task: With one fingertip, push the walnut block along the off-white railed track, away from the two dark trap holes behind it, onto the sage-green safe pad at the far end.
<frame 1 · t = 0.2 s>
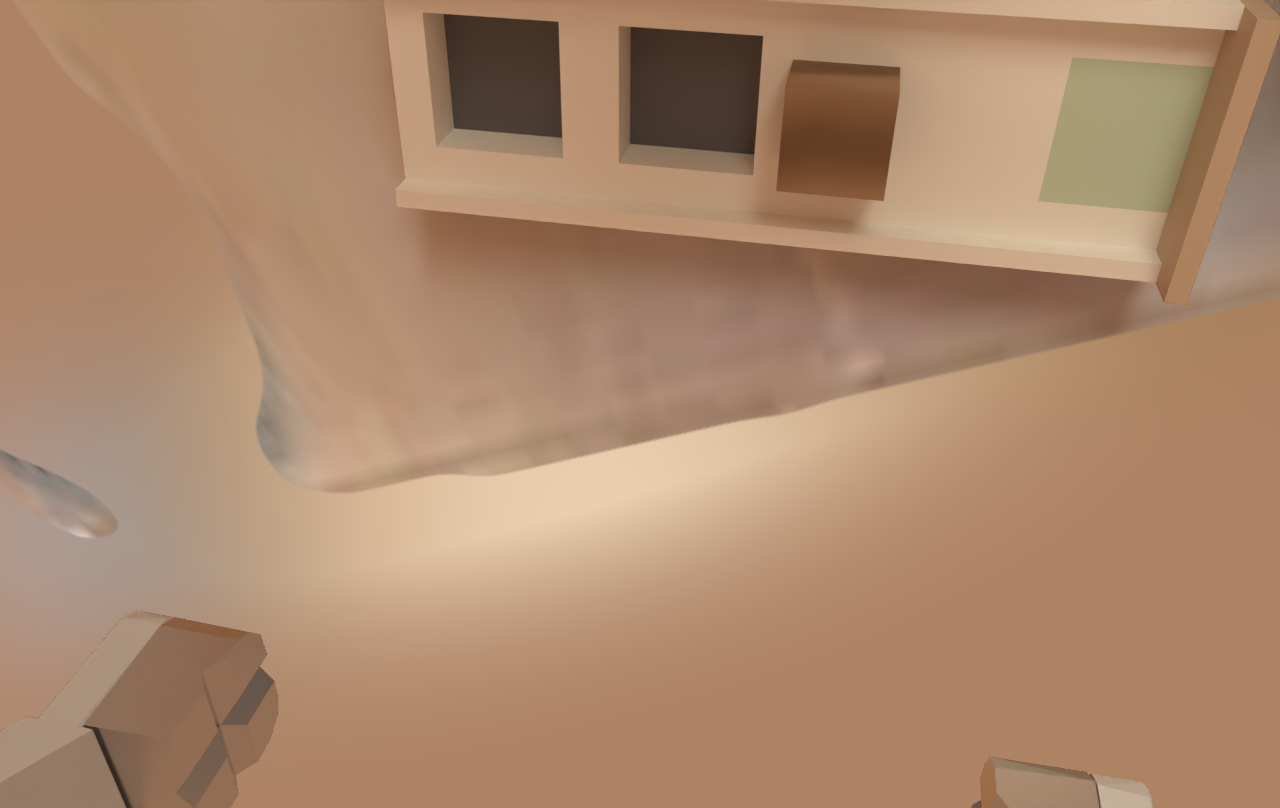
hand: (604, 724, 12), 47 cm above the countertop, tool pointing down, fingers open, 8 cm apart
walnut block: (840, 114, 52), point 3 cm above the countertop, touching trap track
trap track: (784, 90, 55), on the countertop
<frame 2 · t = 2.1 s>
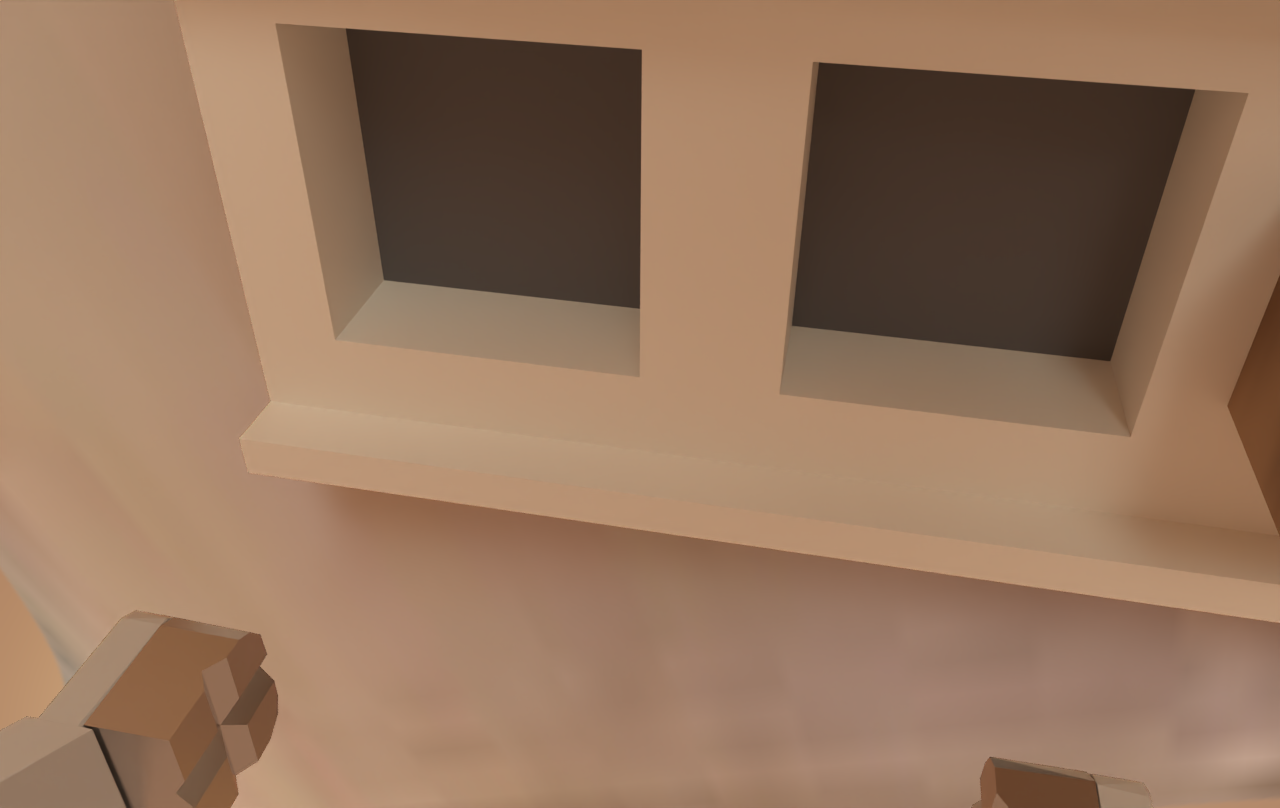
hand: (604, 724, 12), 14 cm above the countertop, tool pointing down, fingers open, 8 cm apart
trap track: (1206, 216, 22), on the countertop
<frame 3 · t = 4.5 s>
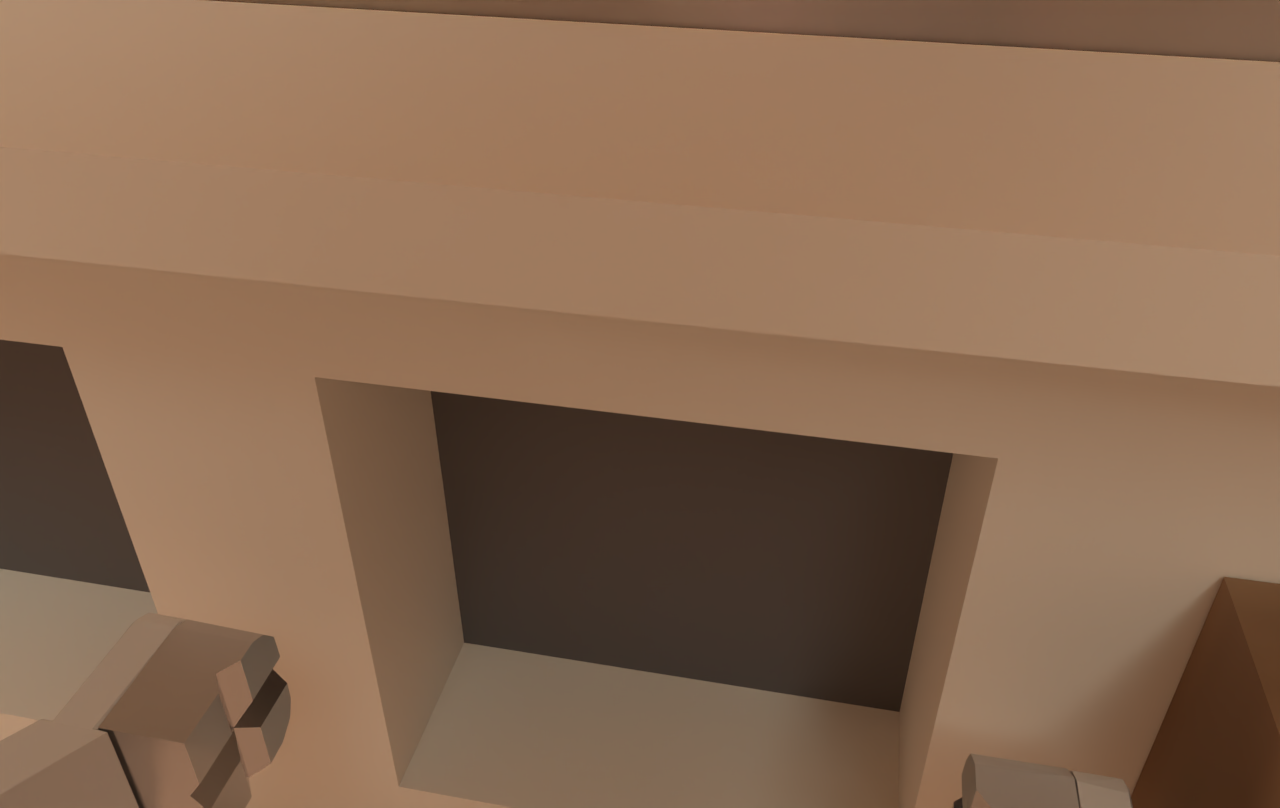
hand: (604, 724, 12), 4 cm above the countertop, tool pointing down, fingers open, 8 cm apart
trap track: (1011, 540, 14), on the countertop
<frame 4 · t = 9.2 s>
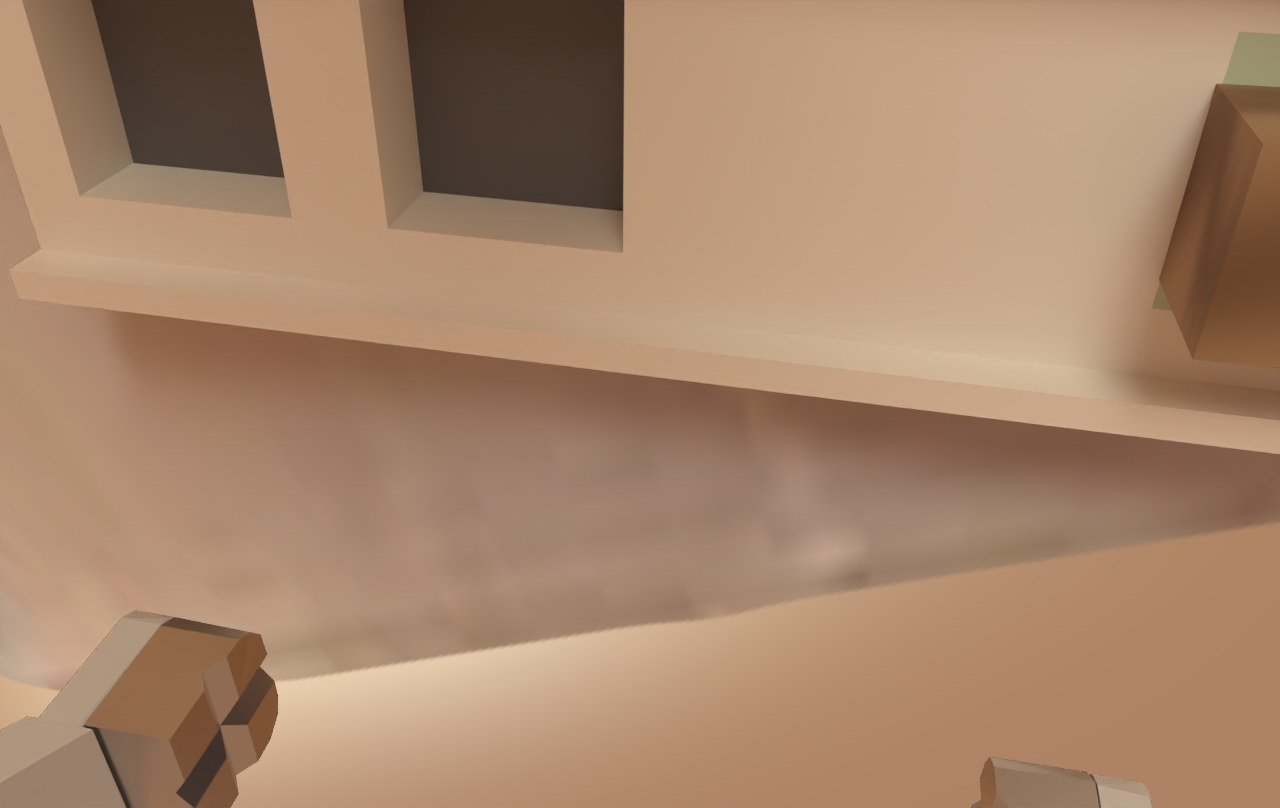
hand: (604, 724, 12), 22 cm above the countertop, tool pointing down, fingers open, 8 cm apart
trap track: (681, 98, 30), on the countertop
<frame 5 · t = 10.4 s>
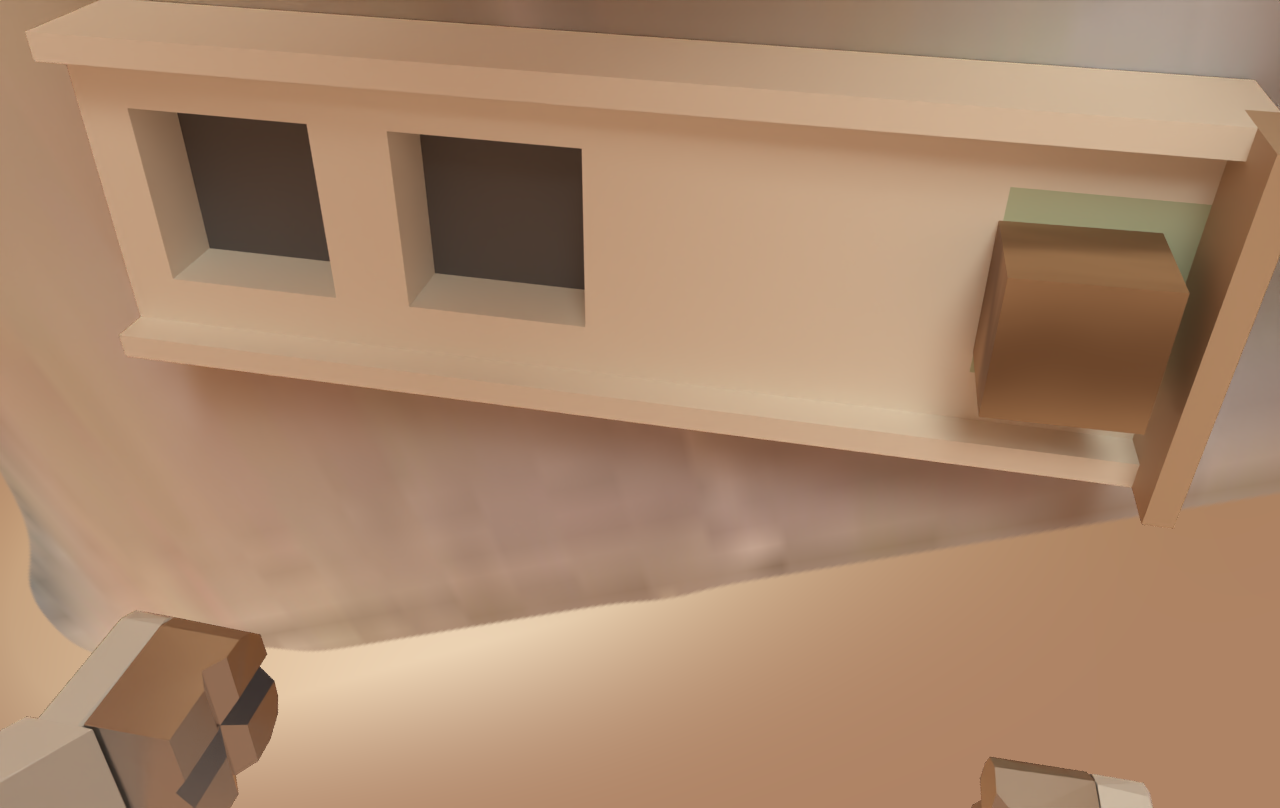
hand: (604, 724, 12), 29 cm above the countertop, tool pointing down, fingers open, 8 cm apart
walnut block: (1063, 295, 36), point 3 cm above the countertop, touching trap track
trap track: (628, 210, 41), on the countertop
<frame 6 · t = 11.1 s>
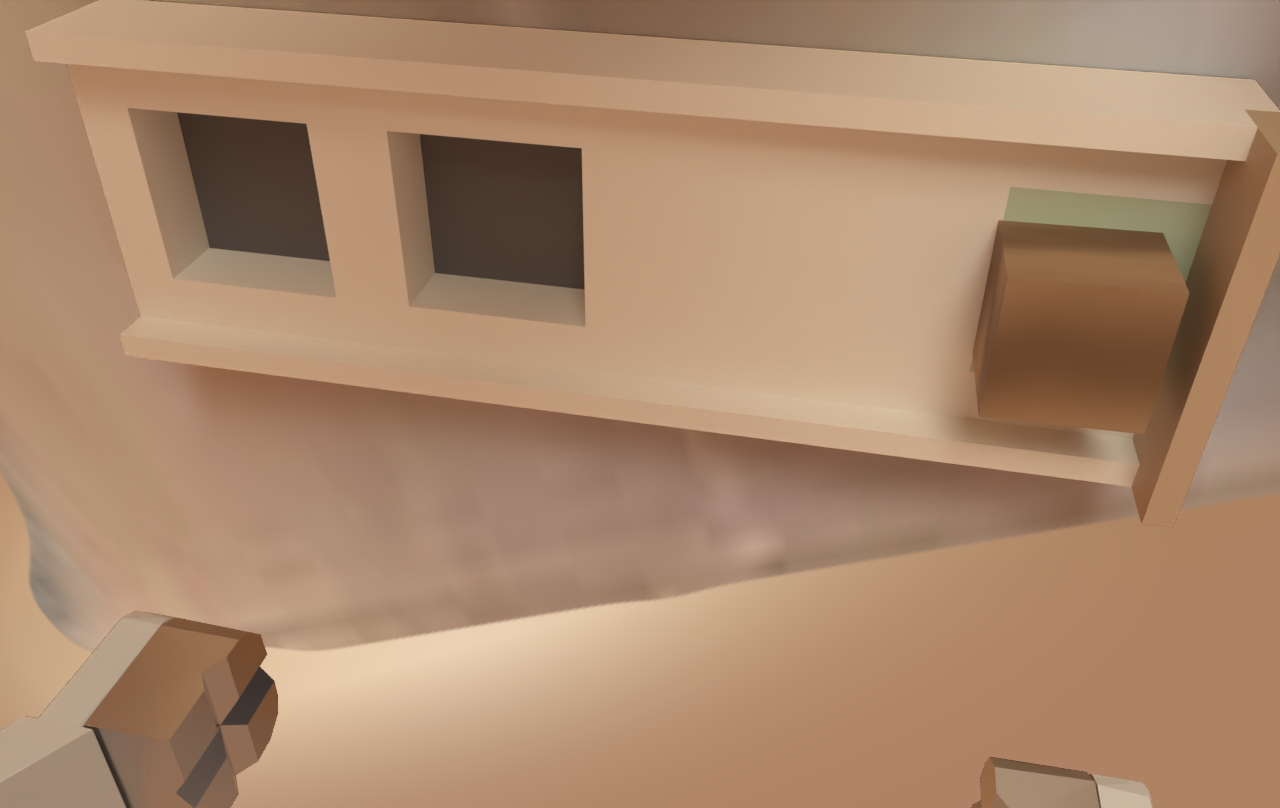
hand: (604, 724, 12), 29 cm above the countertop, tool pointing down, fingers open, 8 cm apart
walnut block: (1063, 295, 36), point 3 cm above the countertop, touching trap track
trap track: (628, 210, 41), on the countertop
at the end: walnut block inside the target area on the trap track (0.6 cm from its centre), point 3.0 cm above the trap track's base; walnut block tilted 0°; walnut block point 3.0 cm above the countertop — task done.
